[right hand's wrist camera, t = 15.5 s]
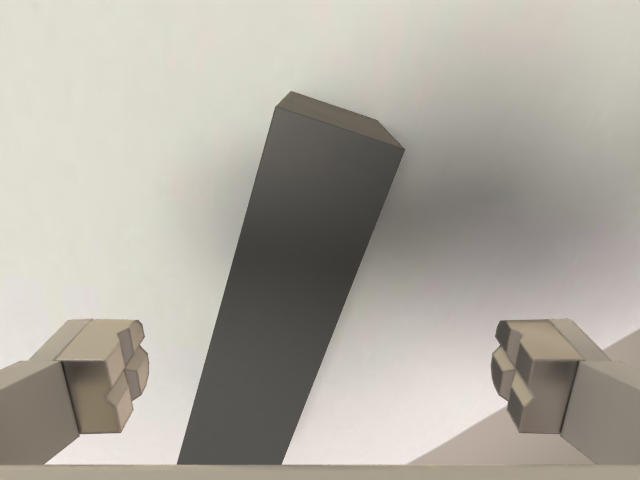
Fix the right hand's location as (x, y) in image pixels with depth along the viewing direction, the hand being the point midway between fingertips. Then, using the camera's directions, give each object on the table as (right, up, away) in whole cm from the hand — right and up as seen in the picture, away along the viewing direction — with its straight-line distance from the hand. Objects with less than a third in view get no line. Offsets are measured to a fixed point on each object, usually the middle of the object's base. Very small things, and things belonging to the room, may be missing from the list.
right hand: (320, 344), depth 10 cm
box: (-3, -1, +25) cm, 25 cm away
